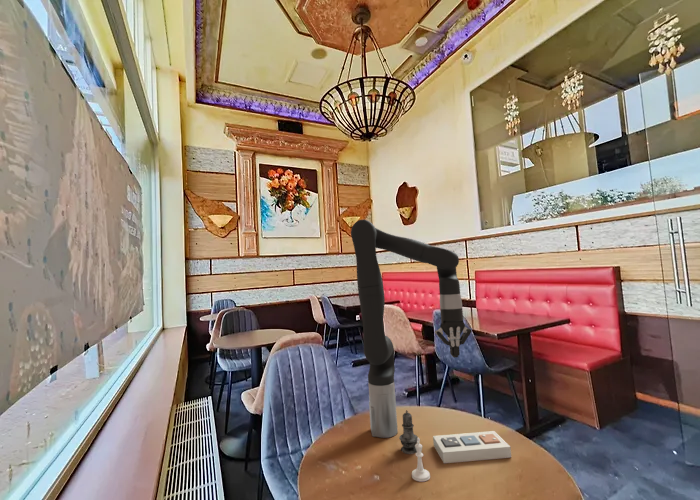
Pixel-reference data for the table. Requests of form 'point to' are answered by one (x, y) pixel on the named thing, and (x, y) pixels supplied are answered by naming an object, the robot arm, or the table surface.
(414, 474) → the chess piece
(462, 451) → the button panel
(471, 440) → the one-dot button
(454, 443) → the three-dot button
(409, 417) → the dark grey tall piece
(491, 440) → the two-dot button
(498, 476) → the table surface
